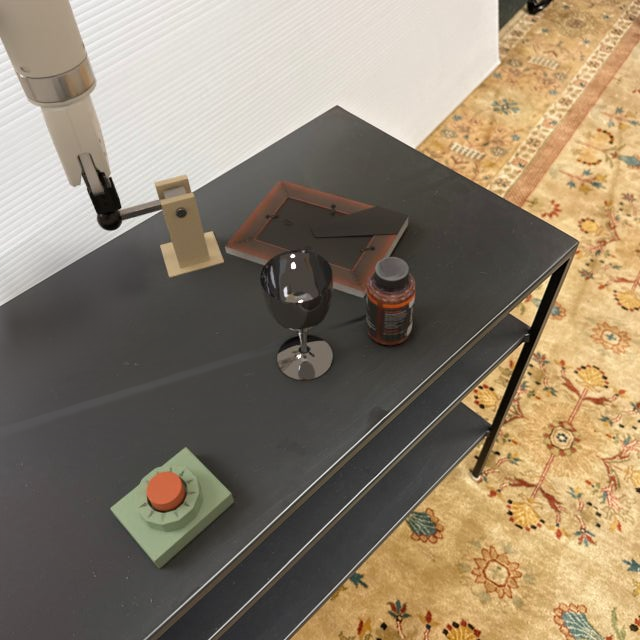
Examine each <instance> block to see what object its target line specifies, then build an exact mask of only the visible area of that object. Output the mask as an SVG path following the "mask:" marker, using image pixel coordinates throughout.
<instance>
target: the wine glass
mask: <svg viewBox="0 0 640 640" xmlns="http://www.w3.org/2000/svg"><path fill="white" fill-rule="evenodd" d="M259 278H260V279H259V280H260V288H261V292H262V296H263V300H264V303H265V306H266V308H267V310H268V313H269V314H270V315H271V318H273V320H274V321H275V322H276V323H277V324H278V325H279V326H281V327H282V328H284V329H286V330H289V331H293V332H296V334H297V336H294V337H291V338H289V339H288V340H286V341H285V342H284V343H283V344H282V345H281V346H280V348H279V349H278V351H277V356H276V363H277V366H278V368H279V370H280V371H281V373H283V374H284V375H285V376H287V377H288V378H290V379H292V380H296V381H311V380H315V379H318V378H320V377H322V376H323V375H324V374H325V373H327V372H328V371H329V369H330V368H331V366H332V365H333V361H334V353H333V350H332V348H331V346H330V344H329V343H328V342H327V341H325V339H322V338H320V337H318V336H316V335H311V334H308V331H309V330H312V329H314V328H316V327H317V326H318V325H320V324H321V323H322V322H323V321H324V320H325V319H326V317H327V315H328V313H329V310H330V307H331V305H332V300H333V294H334V288H333V274H332V269H331V266H330V264H329V263H328V262H327V261H326V260H325V259H324V258H323V257H322V256H320V255H318V254H316V253H313V252H310V251H305V250H293V251H287V252H284V253H281V254H279V255H277V256H275V257H273V258H272V259H270V260H269V261H268V262H267V263H266V264H265V266H264V265H263V267H262V269H261V272H260V275H259Z"/></svg>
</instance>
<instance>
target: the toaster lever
mask: <svg viewBox="0 0 640 640" xmlns="http://www.w3.org/2000/svg"><path fill="white" fill-rule="evenodd" d="M163 193H164V196H165V198H162V199H159V198H158V199H155V200H151V201H148V202H145V203H140V204H136V205H134V206H129V207H126V208H123V209H122V208H121V209H120V210H116V211H112V212H109V213H105V214H101V215H98V214H97V213H96V222H97V224H98V226H99V227H100V228H101V229H103V230H105V231H106V232H112V231H113V232H114V231H116V230H118V229H119V228H120V227H121V225H122V223H123V221H127V220H129V219H133V218H136V217H137V218H138V217H141V216H145V215H148V214H152V213H155V212H158V211H162V207H161V203H160V200H164V199H168V198H172V197H176V196H180V195H184V194H186V191H185V188H184V186H180V187H176V188H173V189H169V190H165V191H163Z"/></svg>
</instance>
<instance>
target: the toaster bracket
mask: <svg viewBox="0 0 640 640" xmlns="http://www.w3.org/2000/svg"><path fill="white" fill-rule="evenodd" d="M153 184H154V187H155V190H156V193H157V197H158V200H159V199H162V198H165V196H164V193H163V191H165V190H169V189H173V188H176V187H180V186H184V188H185V191H186V194H184V195H180V196H176V197H172V198H168V199H164V200H160V203H161V207H162V210H161V211H162V213H163V217H164V220H165V224H166V227H167V230H168V233H169V237H170V242H167V243H163V244H160V245H159V247H160V250H161V254H162V257H163V261H164V264H165V268H166V272H167V274H168V278H169V279H171V278H175V277H179V276H182V275H186V274H189V273H192V272H196V271H199V270H203V269H207V268H210V267H213V266H217V265H221V264H225V260H224V257H223V254H222V251H221V249H220V246H219V243H218V241H217V238H216V236H215V233H214V231H213V230H211V231H208V232H204V228H203V225H202V220H201V216H200V213H199V209H198V205H197V201H196V197H195V193H194V192H193V191H192V188H191V185H190V181H189V178H188V175H187V174H183V175H178V176H174V177H170V178H167V179H162V180H159V181H154V182H153Z"/></svg>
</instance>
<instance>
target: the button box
mask: <svg viewBox="0 0 640 640" xmlns="http://www.w3.org/2000/svg"><path fill="white" fill-rule="evenodd" d="M161 472H173V473H175V474H177V475H178V476H179V477H180V479H181V481H182V483H183V485H184V488H185V496H184V499H183V501H182V502H181V504H180V505H179V506H178V507H176V508H175V509H173V510H170V511H160V510H158V509H156V508H155V507H154V506H153V505H152V504H151V502H150V500H149V498H148V496H147V493H146V490H147V485H148V483H149V481H150V480H151V479H152V478H153V477H154V476H155V475H157V474H159V473H161ZM234 503H235V499H234V497H233V493H232V492H231V491H230V490H229V489H228V488H227V487H226V486H225V485H224V484H223V483H222V482H221V481H220V480H219V479H218V478H217V477H216V476H215V474H214V473H212V472H211V471H210V470H209V469H208V468H207V466H205V464H204V463H202V462H201V461H200V459H198V457H196V455H195V454H193V453H192V452H191V450H190V449H189V448H187V447H186V446H185V447H184V448H183V449H181V450H180V451H178V452H177V453H176V454H175V455H174V456H172V457H171V458H169V460H167V461H166V462H165V463H164V464H163V465H162V466H158V467H154V469H152V470H151V471H150V472H148V474H146V475H145V476H144V477H142V479H141V481H140V483H139V484H138V485H137V486H135V487H134V488H133V489H132V490H130V491H129V492H128V493H127V494H126V495H124V496H123V497H122V498H120V500H118V501H117V502H116V503H115V504H113V505H112V506H111V507H110V511H111V512H112V513H113V515H114V516H115V518H116V519H117V520H118V521H119V522H120V524H121V525H122V526H123V527H124V528H125V530H126V531H127V532H128V533H129V535H130V536H131V537H132V538H133V539H134V540H135V542H136V543H137V545H139V547H140V548H141V549H142V550H143V552H144V553H145V554H146V555H147V556H148V558H149V559H150V560H151V561H152V562H153V563H154V565H155V566H156V568H158V569H159V570H160V569H162V568H163V567H164V566H165V564H167V563H169V561H170V560H171V559H172V558H173V557H174V556H176V555H177V554H178V553H179V552H181V550H183V549H184V548H185V547H186V546H187V545H188V544H189V543H191V541H193V540H194V539H195V538H196V537H197V536H198V535H199V534H200V533H202V532H203V531H204V530H205V529H206V528H207V527H208V526H209V525H210V524H211V523H213V522H214V521H215V520H216V519H217V518H218V517H219V516H221V515H222V514H223V513H224V512H225V511H227V509H228V508H230V507H231V506H232V505H233V504H234Z"/></svg>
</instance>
